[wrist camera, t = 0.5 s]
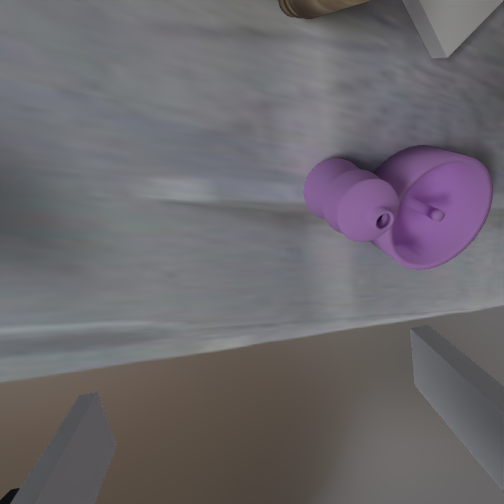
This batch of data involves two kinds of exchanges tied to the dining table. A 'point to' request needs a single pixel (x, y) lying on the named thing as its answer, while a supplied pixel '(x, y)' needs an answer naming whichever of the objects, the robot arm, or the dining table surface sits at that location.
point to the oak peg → (315, 7)
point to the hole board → (447, 21)
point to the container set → (405, 203)
